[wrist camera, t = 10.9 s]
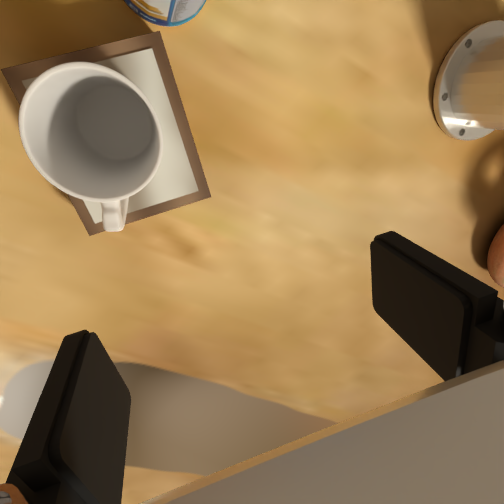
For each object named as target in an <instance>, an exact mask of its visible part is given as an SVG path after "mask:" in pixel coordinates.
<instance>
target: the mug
mask: <svg viewBox="0 0 504 504" xmlns="http://www.w3.org/2000/svg"><path fill="white" fill-rule="evenodd" d="M19 132H20V137H21V140H22V144H23V146H24V149H25V151H26V153H27V155H28V157H29V159H30V160H31V162H32V163H33V165H34V166H35V168H36V169H37V170H38V171H39V172H40V174H41V175H42V176H43V177H44V178H45V179H46V180H48V181H49V182H50V183H51V184H52V185H54V186H55V187H57V188H58V189H60V190H61V191H63V192H65V193H67V194H69V195H71V196H74V197H76V198H79V199H82V200H86V201H91V202H100V203H101V208H102V221H103V228H104V230H106V231H115V232H117V231H121V230H123V228H124V225H125V220H126V214H127V209H128V201H129V197H130V196H132V195H134V194H136V193H137V192H139V191H140V190H142V189H143V188H144V187H145V186H146V185H147V184H148V183H149V182H150V181H151V179H152V178H153V177H154V175H155V173H156V171H157V169H158V167H159V165H160V162H161V158H162V153H163V134H162V129H161V125H160V121H159V119H158V116H157V114H156V112H155V110H154V108H153V106H152V104H151V103H150V101H149V100H148V98H147V97H146V96H145V94H144V93H143V92H142V91H141V90H140V89H139V88H138V87H137V86H136V85H135V84H134V83H133V82H131V81H130V80H129V79H128V78H126V77H125V76H123V75H122V74H120V73H118V72H116V71H114V70H112V69H110V68H108V67H105V66H102V65H99V64H95V63H90V62H69V63H64V64H60V65H57V66H55V67H52V68H50V69H48V70H46V71H45V72H43V73H42V74H41V75H39V76H38V77H37V78H36V79H35V80H34V81H33V82H32V83H31V85H30V86H29V87H28V89H27V91H26V92H25V94H24V96H23V99H22V102H21V105H20V110H19Z"/></svg>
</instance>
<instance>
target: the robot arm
mask: <svg viewBox="0 0 504 504" xmlns="http://www.w3.org/2000/svg"><path fill="white" fill-rule="evenodd" d="M433 105H434V113H435V117H436V120H437V122H438V124H439V126H440V128H441V129H442V130H443V131H444V133H445V134H447V135H448V136H450V137H452V138H455V139H459V140H475V139H478V138H481V137H484V136H486V135H487V134H489V133H491V132H492V131H493V130H495V129H497V130H504V21H503V20H496V21H490V22H486V23H482V24H479V25H477V26H475V27H473V28H471V29H470V30H469V31H467V32H466V33H465V34H464V35H462V36H461V37H460V38H459V39H458V41H457V42H456V43H455V44H454V45H453V46H452V48H451V49H450V51H449V52H448V54H447V55H446V57H445V59H444V61H443V63H442V65H441V67H440V70H439V73H438V75H437V78H436V83H435V88H434V97H433ZM370 250H371V275H372V300H373V307H374V309H375V311H376V313H377V314H378V315H379V316H380V317H381V318H382V319H383V320H384V321H385V322H386V323H387V324H388V325H389V326H390V327H391V328H392V329H393V330H394V331H395V332H396V333H397V334H398V335H399V336H400V337H401V338H402V339H403V340H404V341H405V342H406V343H407V344H408V345H409V346H410V347H411V348H412V349H413V350H414V351H415V352H416V353H417V354H418V355H419V356H420V357H421V358H422V359H423V360H424V361H425V362H426V363H427V364H428V365H429V366H430V367H431V368H432V369H433V370H434V371H435V372H436V373H437V374H438V375H439V376H440V377H441V378H442V379H443V380H444V381H445V382H443V383H440V384H437V385H435V386H432V387H430V388H427V389H425V390H422V391H420V392H417V393H414V394H412V395H409V396H407V397H404V398H402V399H399V400H396V401H394V402H391V403H389V404H386V405H384V406H381V407H379V408H376V409H373V410H371V411H368V412H366V413H363V414H361V415H358V416H356V417H353V418H351V419H348V420H346V421H343V422H341V423H338V424H336V425H333V426H331V427H328V428H326V429H323V430H320V431H318V432H315V433H313V434H310V435H308V436H305V437H303V438H300V439H298V440H295V441H293V442H290V443H288V444H285V445H283V446H280V447H278V448H275V449H273V450H270V451H268V452H265V453H263V454H260V455H258V456H255V457H253V458H250V459H248V460H245V461H243V462H240V463H238V464H235V465H233V466H230V467H228V468H226V469H223V470H221V471H218V472H216V473H213V474H211V475H208V476H206V477H203V478H201V479H198V480H196V481H193V482H191V483H188V484H186V485H183V486H181V487H178V488H176V489H174V490H171V491H169V492H166V493H164V494H161V495H159V496H157V497H154V498H152V499H149V500H147V501H145V502H142V503H140V504H504V300H502V299H500V298H498V297H497V295H498V291H497V290H495V289H493V288H492V287H490V286H488V285H486V284H485V283H483V282H481V281H479V280H478V279H476V278H474V277H473V276H471V275H469V274H467V273H466V272H464V271H462V270H460V269H459V268H457V267H455V266H453V265H452V264H450V263H448V262H446V261H445V260H443V259H441V258H439V257H438V256H436V255H434V254H432V253H431V252H429V251H427V250H426V249H424V248H422V247H420V246H419V245H417V244H415V243H413V242H412V241H410V240H408V239H406V238H405V237H403V236H401V235H399V234H398V233H396V232H394V231H389V232H386V233H383V234H380V235H377V236H375V238H374V241H372V242H371V244H370ZM130 405H131V396H130V392H129V390H128V388H127V386H126V384H125V383H124V381H123V379H122V377H121V376H120V374H119V372H118V371H117V369H116V367H115V365H114V364H113V362H112V360H111V359H110V357H109V355H108V353H107V352H106V350H105V348H104V347H103V345H102V343H101V341H100V340H99V338H98V336H97V335H96V333H94V332H91V333H89V332H88V331H87V330H82V331H79V332H76V333H73V334H70V335H67V336H65V337H64V339H63V341H62V344H61V346H60V349H59V351H58V354H57V356H56V359H55V361H54V364H53V366H52V369H51V371H50V374H49V377H48V379H47V381H46V384H45V386H44V389H43V391H42V394H41V396H40V398H39V401H38V403H37V406H36V408H35V411H34V413H33V416H32V418H31V421H30V423H29V426H28V428H27V431H26V433H25V436H24V438H23V441H22V443H21V446H20V448H19V451H18V453H17V456H16V458H15V461H14V463H13V466H12V468H11V471H10V473H9V476H8V478H7V481H6V483H3V484H0V504H121V498H122V488H123V478H124V467H125V456H126V446H127V436H128V426H129V415H130Z"/></svg>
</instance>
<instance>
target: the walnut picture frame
mask: <svg viewBox="0 0 504 504" xmlns="http://www.w3.org/2000/svg"><path fill="white" fill-rule="evenodd" d="M69 62H90V63H95V64H99V65H102V66H105V67H108V68H110V69H112V70H114V71H116V72H118V73H120V74H122V75H123V76H125V77H126V78H128V79H129V80H130V81H131V82H133V83H134V84H135V85H136V86H137V87H138V88H139V89H140V90H141V91H142V92H143V93H144V94H145V96H146V97H147V98H148V100H149V101H150V103H151V104H152V106H153V108H154V110H155V112H156V114H157V116H158V119H159V121H160V125H161V129H162V134H163V153H162V158H161V162H160V165H159V167H158V169H157V171H156V173H155V175H154V177H153V178H152V179H151V181H150V182H149V183H148V184H147V185H146V186H145V187H144V188H143V189H142V190H140V191H139V192H137V193H136V194H134V195H132V196H130V197H129V201H128V209H127V214H126V220H125V224H128V223H131V222H134V221H138V220H141V219H144V218H147V217H150V216H153V215H156V214H159V213H163V212H166V211H169V210H172V209H175V208H178V207H181V206H184V205H187V204H191V203H194V202H197V201H200V200H203V199H206V198H209V197H211V194H210V191H209V188H208V185H207V182H206V178H205V175H204V172H203V169H202V166H201V162H200V159H199V156H198V153H197V149H196V146H195V143H194V140H193V137H192V133H191V130H190V127H189V124H188V121H187V117H186V114H185V111H184V108H183V104H182V101H181V98H180V95H179V92H178V88H177V85H176V82H175V79H174V76H173V72H172V69H171V66H170V63H169V59H168V56H167V53H166V50H165V47H164V43H163V40H162V37H161V34H160V31H157V32H153V33H149V34H145V35H141V36H137V37H132V38H128V39H124V40H120V41H116V42H112V43H108V44H104V45H99V46H95V47H91V48H87V49H83V50H79V51H75V52H71V53H66V54H62V55H58V56H54V57H50V58H46V59H42V60H38V61H33V62H29V63H25V64H21V65H17V66H13V67H9V68H5V69H1V71H2V73H3V74H4V76H5V78H6V80H7V82H8V84H9V86H10V88H11V89H12V91H13V93H14V95H15V97H16V99H17V101H18V103H19V104H20V105H21V102H22V99H23V96H24V94H25V92H26V91H27V89H28V87H29V86H30V85H31V83H32V82H33V81H34V80H35V79H36V78H37V77H38V76H39V75H41V74H42V73H43V72H45V71H46V70H48V69H50V68H52V67H55V66H57V65H60V64H64V63H69ZM68 196H69V198H70V200H71V202H72V204H73V206H74V207H75V209H76V211H77V213H78V215H79V217H80V219H81V221H82V222H83V224H84V226H85V228H86V230H87V232H88V234H89V236H91V235H94V234H97V233H100V232H103V231H106V230H104V228H103V221H102V208H101V203H100V202H91V201H86V200H82V199H79V198H76V197H74V196H71V195H69V194H68Z"/></svg>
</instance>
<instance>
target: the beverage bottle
mask: <svg viewBox="0 0 504 504" xmlns="http://www.w3.org/2000/svg"><path fill="white" fill-rule="evenodd" d="M124 1H125V3H126V4H127V5H128V6H129V7H130V8H131V9H132V10H133V11H134V12H135V13H136V14H137V15H139V16H140V17H141V18H143V19H145V20H146V21H148V22H150V23H153V24H156V25H159V26H166V27H172V26H178V25H182V24H184V23H186V22H188V21H190V20H191V19H192V18H194V17H195V16H196V15H197V14H198V13H199V11H200V10H201V9H202V7H203V5H204V4H205V2H206V0H124Z"/></svg>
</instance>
